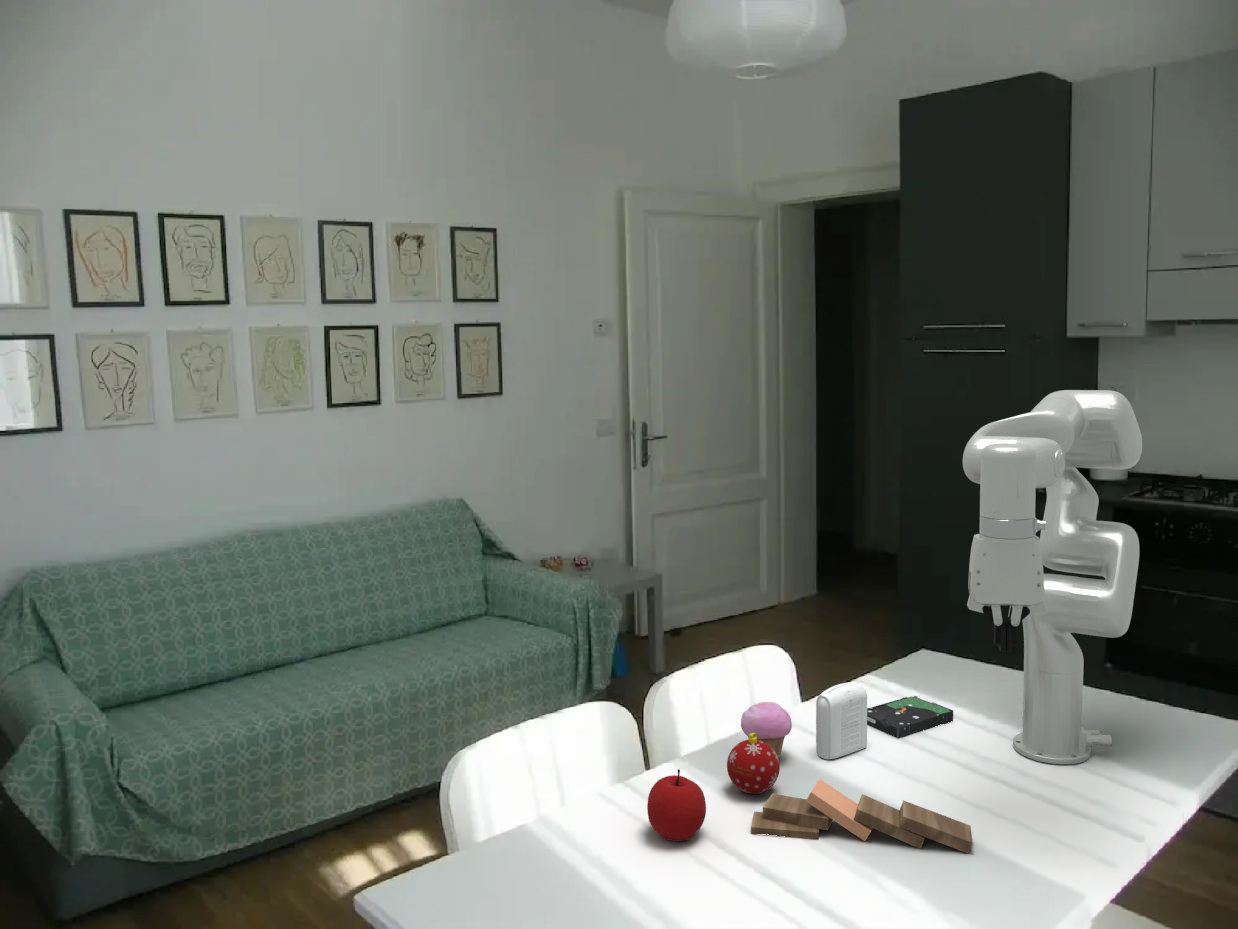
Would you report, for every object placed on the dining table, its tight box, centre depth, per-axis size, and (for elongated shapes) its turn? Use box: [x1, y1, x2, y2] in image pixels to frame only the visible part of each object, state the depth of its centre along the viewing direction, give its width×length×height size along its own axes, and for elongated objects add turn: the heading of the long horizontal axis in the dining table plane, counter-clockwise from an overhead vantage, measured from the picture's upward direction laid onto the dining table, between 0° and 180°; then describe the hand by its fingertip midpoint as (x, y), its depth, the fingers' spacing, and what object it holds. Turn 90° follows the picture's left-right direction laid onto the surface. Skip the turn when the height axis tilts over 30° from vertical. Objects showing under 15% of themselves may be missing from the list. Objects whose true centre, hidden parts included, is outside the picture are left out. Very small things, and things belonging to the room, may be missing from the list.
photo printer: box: [815, 682, 868, 761], centre depth 177 cm, size 10×4×12 cm, turn 123°
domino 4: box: [854, 793, 926, 850], centre depth 147 cm, size 2×5×10 cm
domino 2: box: [750, 811, 820, 841], centre depth 151 cm, size 2×5×10 cm
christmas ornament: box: [726, 733, 780, 795], centre depth 163 cm, size 9×9×10 cm
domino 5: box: [899, 800, 973, 854], centre depth 145 cm, size 2×5×10 cm
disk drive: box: [867, 695, 954, 740], centre depth 190 cm, size 10×3×15 cm
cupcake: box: [740, 701, 793, 760], centre depth 175 cm, size 9×9×10 cm
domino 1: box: [762, 793, 834, 831], centre depth 152 cm, size 2×5×10 cm
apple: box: [646, 768, 707, 842], centre depth 150 cm, size 9×9×10 cm
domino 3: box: [806, 778, 873, 842], centre depth 150 cm, size 2×5×10 cm
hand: (1004, 649), depth 147 cm, fingers closed
